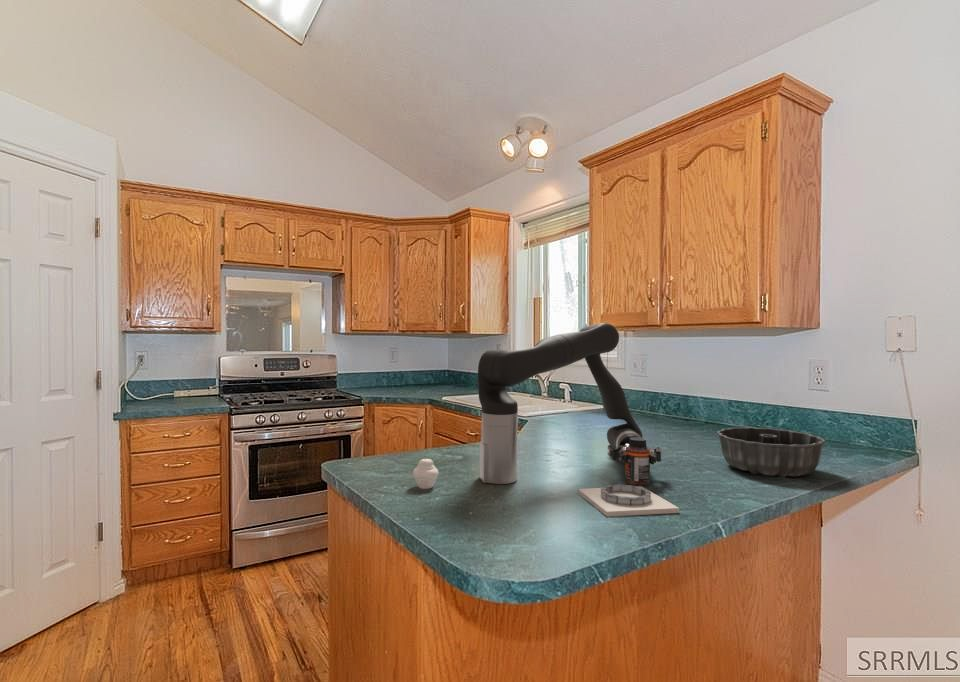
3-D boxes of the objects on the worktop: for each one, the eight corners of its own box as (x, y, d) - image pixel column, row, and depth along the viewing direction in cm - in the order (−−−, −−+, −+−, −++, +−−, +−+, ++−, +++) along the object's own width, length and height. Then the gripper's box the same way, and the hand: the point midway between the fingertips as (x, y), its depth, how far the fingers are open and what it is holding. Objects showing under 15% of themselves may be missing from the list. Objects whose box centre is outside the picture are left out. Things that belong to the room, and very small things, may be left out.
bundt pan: (765, 485, 126) (766, 446, 126) (697, 461, 152) (697, 428, 152) (849, 480, 132) (850, 442, 132) (770, 457, 158) (770, 425, 158)
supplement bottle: (621, 480, 129) (621, 436, 129) (643, 479, 130) (644, 436, 130) (630, 486, 123) (630, 440, 123) (653, 486, 124) (654, 440, 124)
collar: (613, 506, 105) (613, 499, 105) (593, 491, 115) (593, 485, 115) (659, 504, 107) (660, 497, 107) (636, 490, 117) (636, 483, 117)
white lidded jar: (413, 483, 124) (413, 455, 124) (438, 483, 125) (438, 455, 125) (412, 491, 118) (412, 461, 118) (438, 490, 119) (438, 460, 119)
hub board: (606, 516, 102) (606, 511, 102) (578, 493, 118) (578, 488, 118) (679, 512, 104) (679, 508, 104) (641, 490, 120) (641, 486, 120)
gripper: (604, 431, 142) (609, 443, 125) (657, 433, 139) (669, 445, 123) (604, 458, 142) (608, 473, 125) (657, 460, 139) (669, 476, 123)
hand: (638, 459), depth 124 cm, fingers closed on supplement bottle, 6 cm apart
